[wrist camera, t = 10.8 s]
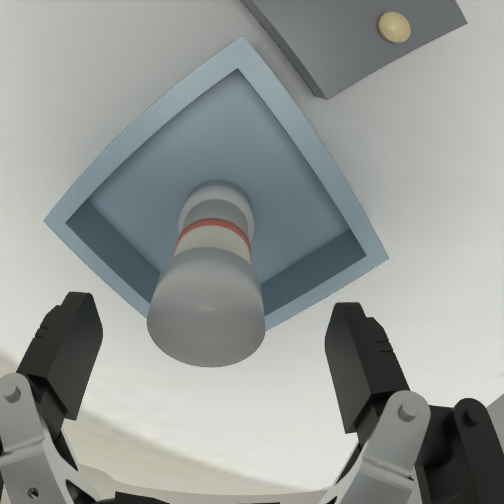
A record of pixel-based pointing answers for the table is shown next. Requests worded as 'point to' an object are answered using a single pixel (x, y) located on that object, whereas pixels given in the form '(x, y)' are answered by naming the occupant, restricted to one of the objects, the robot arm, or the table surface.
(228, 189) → the cylinder
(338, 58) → the fuse block
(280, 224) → the parts tray
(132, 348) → the table surface
